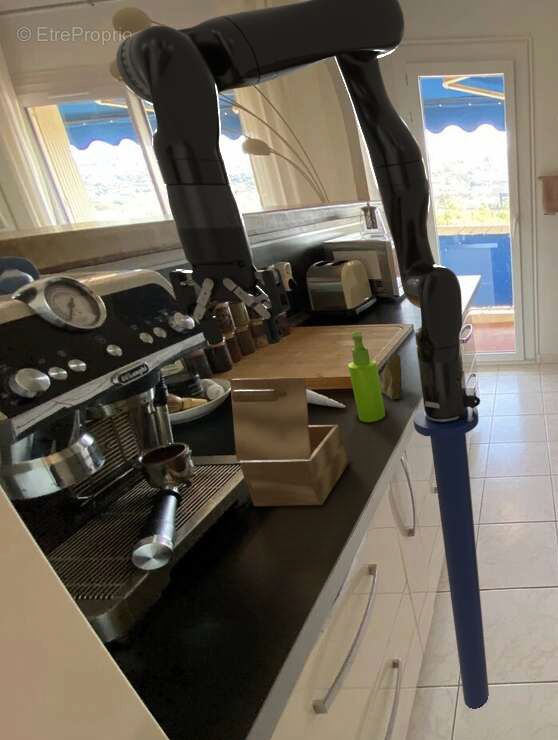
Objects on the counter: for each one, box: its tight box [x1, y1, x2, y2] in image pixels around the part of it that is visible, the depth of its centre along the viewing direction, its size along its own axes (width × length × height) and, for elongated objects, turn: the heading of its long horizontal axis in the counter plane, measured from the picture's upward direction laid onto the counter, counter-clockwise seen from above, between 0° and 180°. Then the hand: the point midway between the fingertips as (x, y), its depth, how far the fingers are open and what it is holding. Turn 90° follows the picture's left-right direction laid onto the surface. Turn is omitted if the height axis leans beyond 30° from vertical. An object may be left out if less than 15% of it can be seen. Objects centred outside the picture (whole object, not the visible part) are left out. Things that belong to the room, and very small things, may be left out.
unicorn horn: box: [306, 388, 347, 408], centre depth 111 cm, size 5×24×5 cm, turn 65°
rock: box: [380, 352, 402, 400], centre depth 115 cm, size 11×9×10 cm
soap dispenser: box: [348, 330, 386, 423], centre depth 101 cm, size 6×7×20 cm
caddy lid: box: [229, 376, 311, 462], centre depth 69 cm, size 13×11×5 cm
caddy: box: [238, 424, 349, 507], centre depth 79 cm, size 12×11×9 cm
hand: (245, 343), depth 65 cm, fingers open, 8 cm apart
